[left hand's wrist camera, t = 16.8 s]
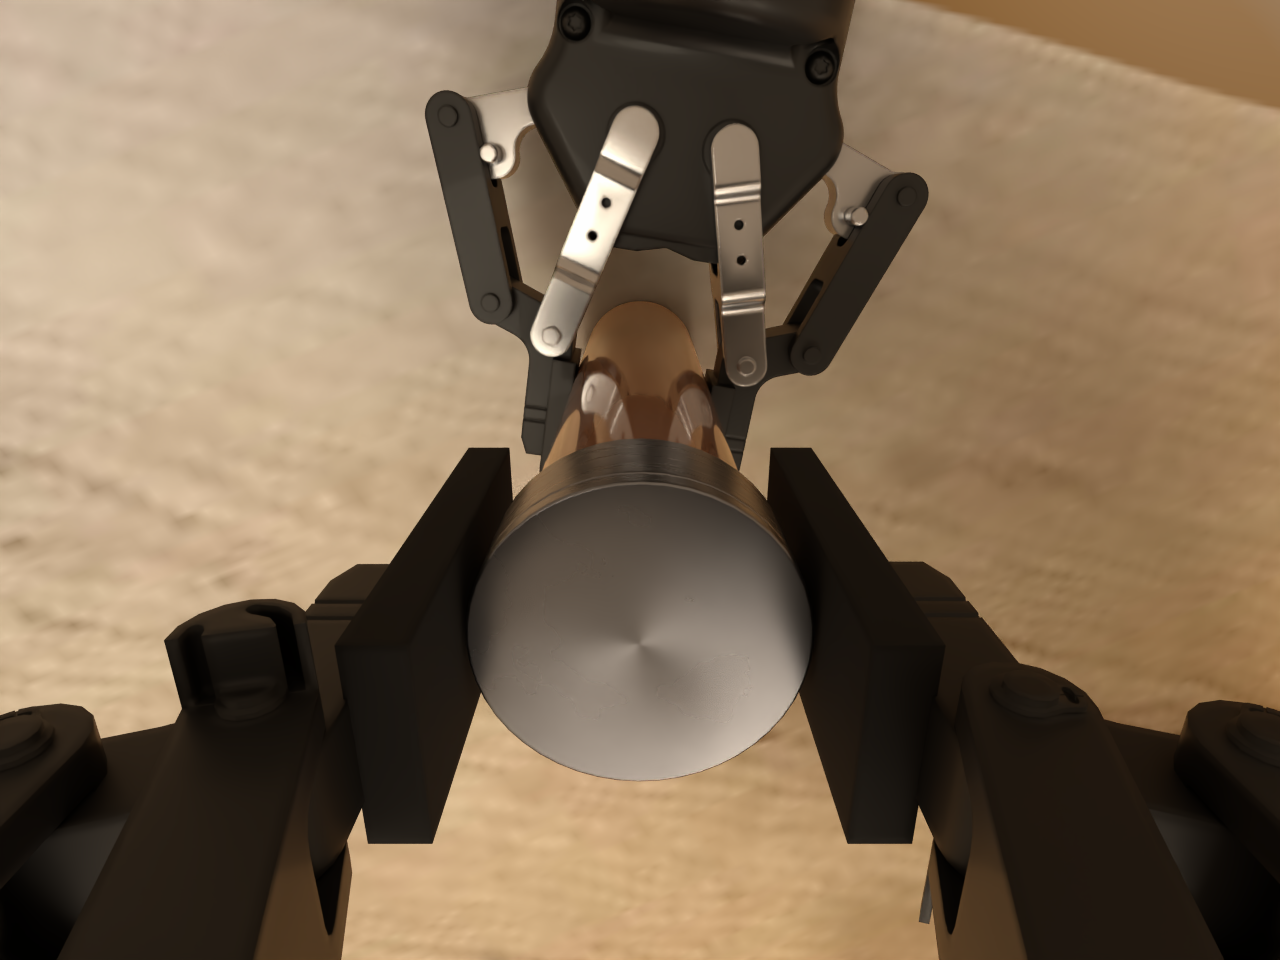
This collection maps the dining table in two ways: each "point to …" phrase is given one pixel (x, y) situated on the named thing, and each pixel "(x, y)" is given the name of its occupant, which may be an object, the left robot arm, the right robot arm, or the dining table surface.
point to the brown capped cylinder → (640, 387)
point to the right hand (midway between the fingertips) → (627, 476)
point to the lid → (639, 613)
